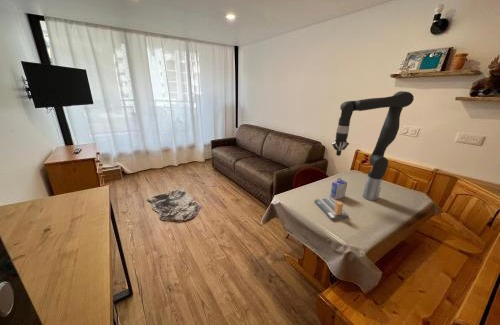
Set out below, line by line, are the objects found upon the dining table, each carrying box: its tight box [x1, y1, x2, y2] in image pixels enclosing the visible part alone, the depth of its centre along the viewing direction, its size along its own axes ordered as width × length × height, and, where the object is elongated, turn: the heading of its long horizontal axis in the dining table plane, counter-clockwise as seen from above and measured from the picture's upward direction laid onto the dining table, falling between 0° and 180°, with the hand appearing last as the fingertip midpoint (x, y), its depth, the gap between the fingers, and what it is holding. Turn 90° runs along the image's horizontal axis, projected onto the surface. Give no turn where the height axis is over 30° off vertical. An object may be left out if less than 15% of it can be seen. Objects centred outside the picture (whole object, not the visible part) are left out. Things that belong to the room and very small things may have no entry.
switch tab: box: [334, 200, 344, 215], centre depth 127 cm, size 3×3×8 cm
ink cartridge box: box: [330, 177, 348, 200], centre depth 149 cm, size 10×6×14 cm, turn 113°
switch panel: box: [314, 197, 349, 221], centre depth 136 cm, size 12×21×4 cm, turn 12°
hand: (338, 155), depth 146 cm, fingers closed
